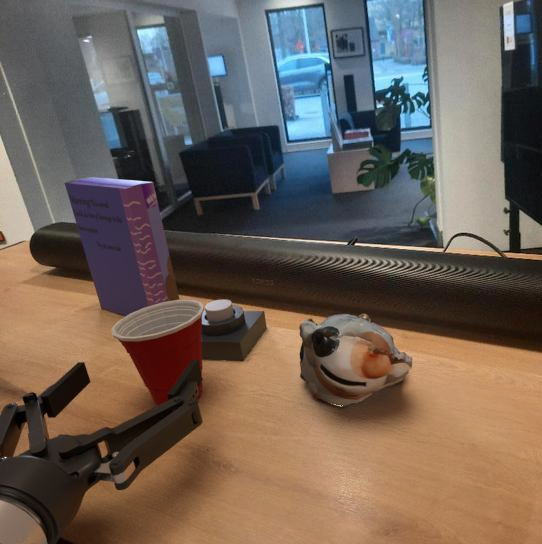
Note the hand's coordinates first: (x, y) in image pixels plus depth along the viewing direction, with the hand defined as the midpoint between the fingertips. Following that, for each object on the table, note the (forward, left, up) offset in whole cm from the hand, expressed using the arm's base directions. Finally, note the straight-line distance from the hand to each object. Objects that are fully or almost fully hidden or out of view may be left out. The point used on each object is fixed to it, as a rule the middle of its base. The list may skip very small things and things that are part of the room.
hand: (140, 370), depth 57 cm
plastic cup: (0, +5, -8) cm, 9 cm away
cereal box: (-20, +29, -8) cm, 36 cm away
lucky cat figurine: (+24, +9, -8) cm, 26 cm away
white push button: (+1, +19, -3) cm, 19 cm away
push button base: (0, +19, -7) cm, 21 cm away
